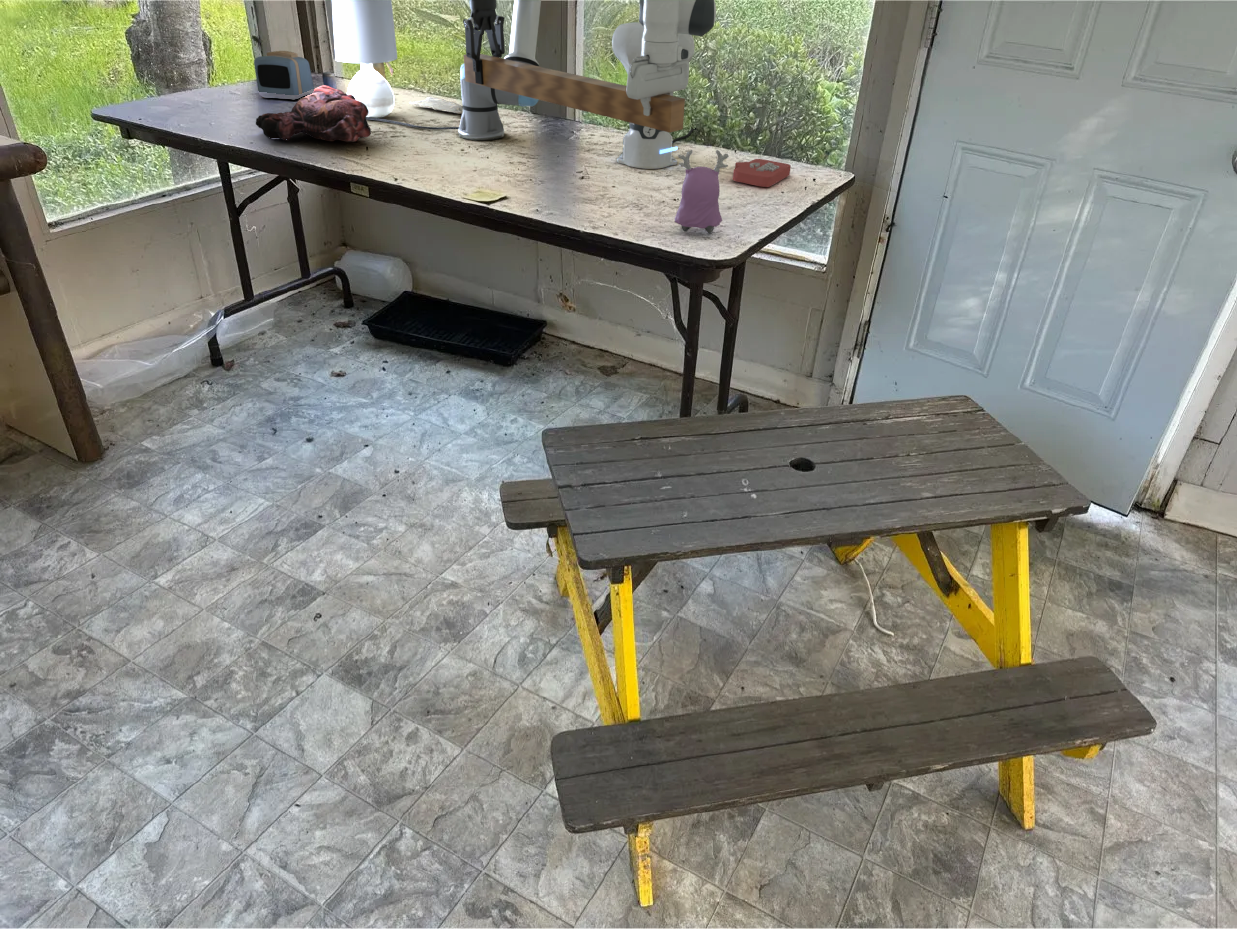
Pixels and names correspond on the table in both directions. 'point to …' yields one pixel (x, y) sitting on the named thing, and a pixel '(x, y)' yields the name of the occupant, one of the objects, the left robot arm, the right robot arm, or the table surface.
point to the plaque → (760, 172)
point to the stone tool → (439, 105)
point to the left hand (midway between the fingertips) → (487, 82)
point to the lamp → (364, 48)
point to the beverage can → (329, 79)
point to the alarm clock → (283, 73)
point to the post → (577, 92)
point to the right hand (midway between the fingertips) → (656, 113)
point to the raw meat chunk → (320, 117)
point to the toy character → (700, 195)
